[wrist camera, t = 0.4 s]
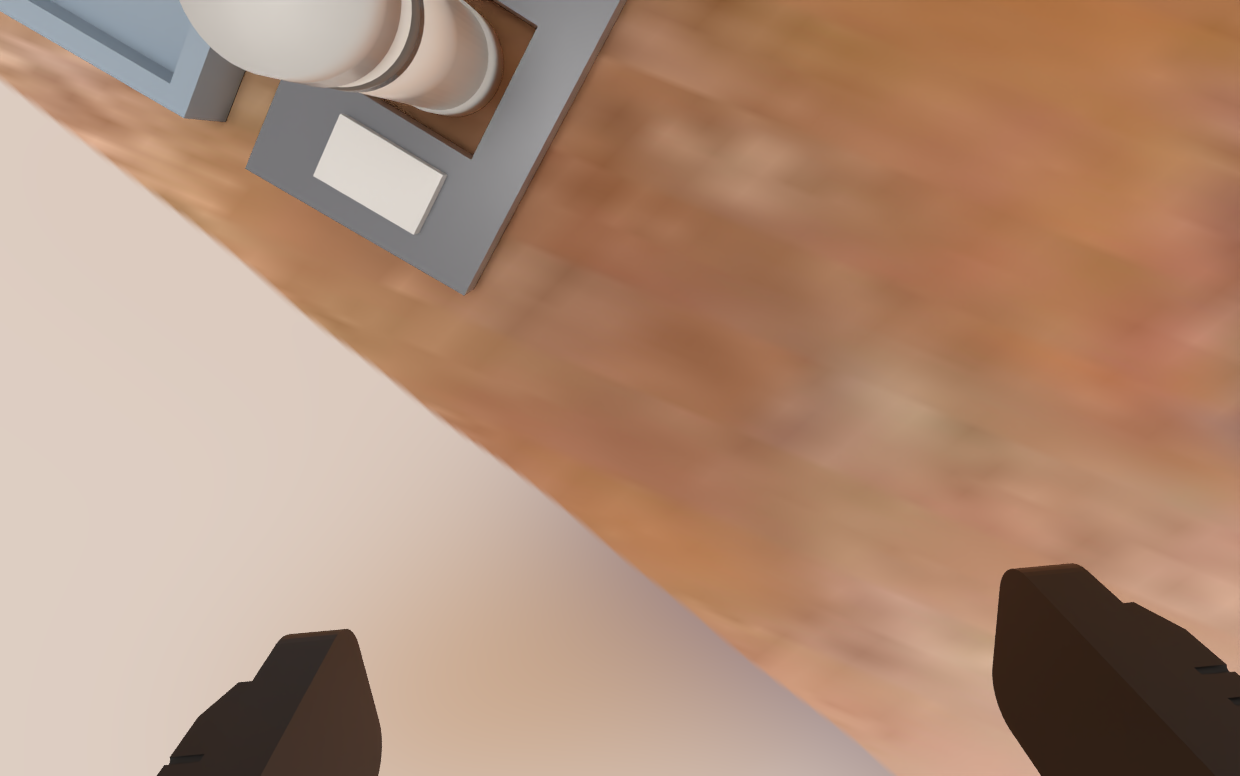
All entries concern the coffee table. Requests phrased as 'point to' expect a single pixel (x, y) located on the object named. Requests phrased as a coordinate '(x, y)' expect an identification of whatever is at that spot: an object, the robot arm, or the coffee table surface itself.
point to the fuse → (362, 47)
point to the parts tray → (139, 49)
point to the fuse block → (433, 150)
